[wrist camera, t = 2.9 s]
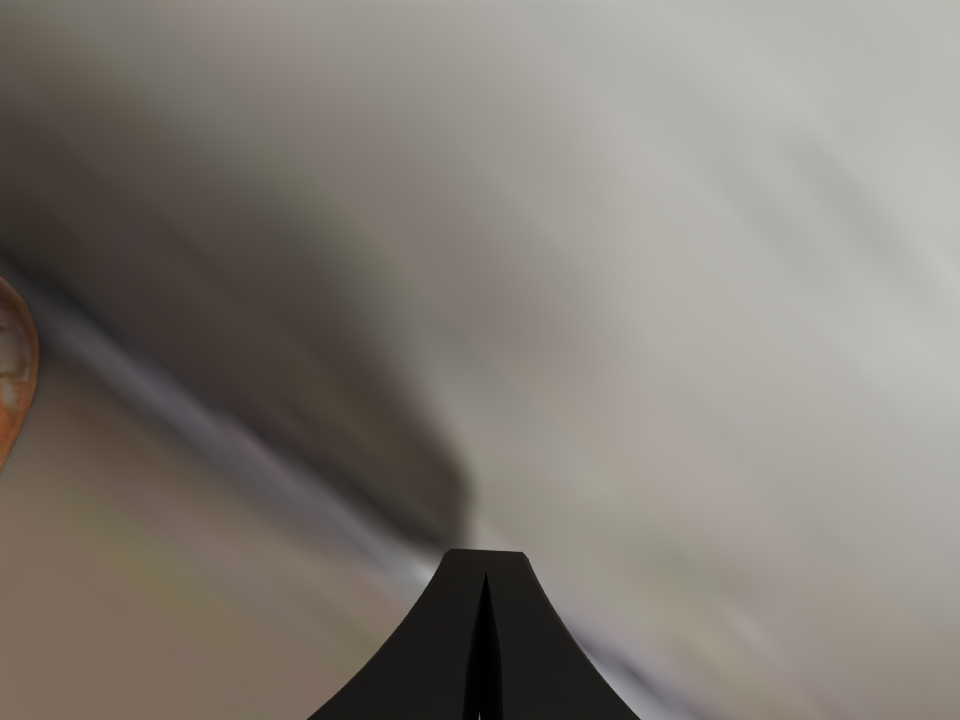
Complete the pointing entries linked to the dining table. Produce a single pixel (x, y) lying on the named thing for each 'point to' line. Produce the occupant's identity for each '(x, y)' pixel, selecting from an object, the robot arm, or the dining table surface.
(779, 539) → the dining table surface
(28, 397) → the tin
